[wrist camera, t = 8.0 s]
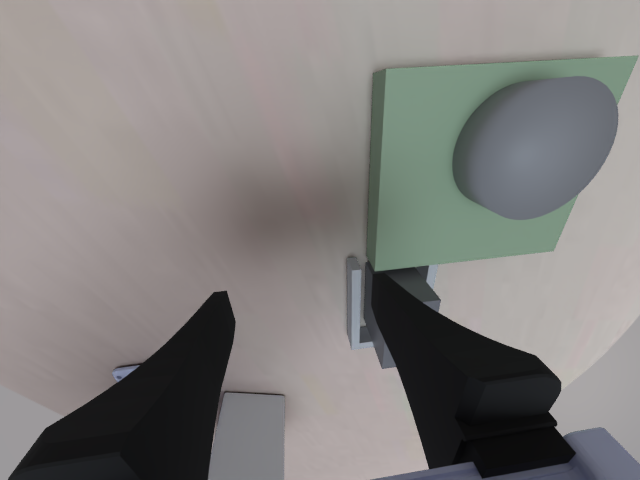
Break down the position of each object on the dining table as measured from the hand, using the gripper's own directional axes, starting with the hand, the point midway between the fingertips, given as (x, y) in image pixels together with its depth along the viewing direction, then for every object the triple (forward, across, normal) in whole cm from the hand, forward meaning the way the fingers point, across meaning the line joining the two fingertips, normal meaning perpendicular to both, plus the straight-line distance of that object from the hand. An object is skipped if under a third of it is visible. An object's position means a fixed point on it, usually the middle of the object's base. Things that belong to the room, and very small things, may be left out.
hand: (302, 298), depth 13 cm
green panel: (+9, -13, +2) cm, 16 cm away
